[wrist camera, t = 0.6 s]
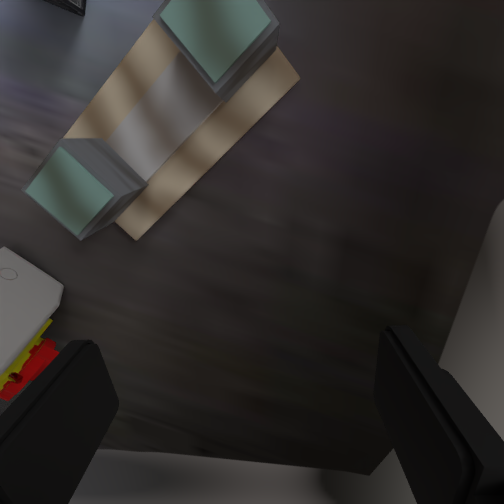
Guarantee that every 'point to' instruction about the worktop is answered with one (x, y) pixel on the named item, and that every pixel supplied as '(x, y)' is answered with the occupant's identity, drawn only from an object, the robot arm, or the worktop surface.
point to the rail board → (165, 116)
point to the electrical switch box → (24, 321)
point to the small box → (70, 5)
